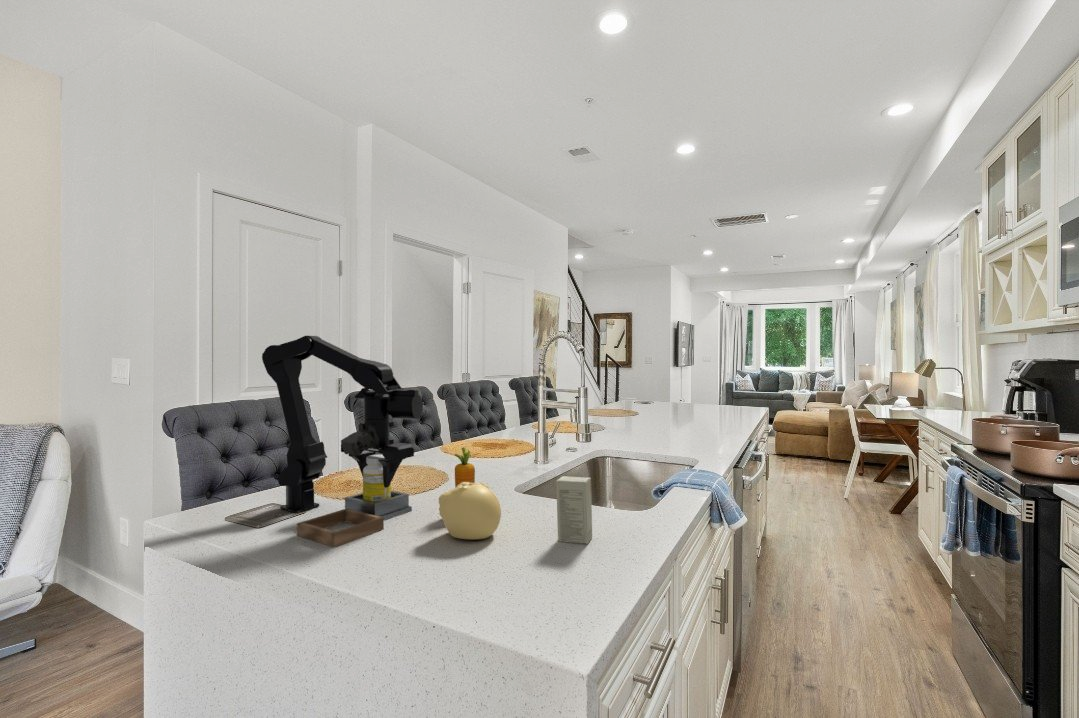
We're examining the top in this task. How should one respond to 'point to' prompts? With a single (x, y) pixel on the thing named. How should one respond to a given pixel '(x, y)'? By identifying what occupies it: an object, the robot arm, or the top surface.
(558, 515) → the skincare box
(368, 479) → the pill bottle
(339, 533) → the walnut collar
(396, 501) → the dark metal seat block
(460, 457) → the carrot
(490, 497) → the sculpture
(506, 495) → the top surface
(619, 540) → the top surface
